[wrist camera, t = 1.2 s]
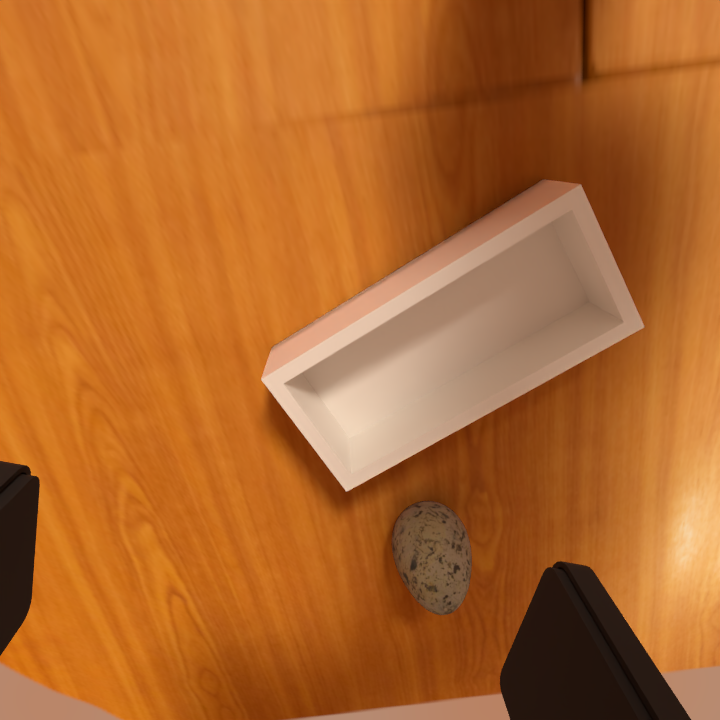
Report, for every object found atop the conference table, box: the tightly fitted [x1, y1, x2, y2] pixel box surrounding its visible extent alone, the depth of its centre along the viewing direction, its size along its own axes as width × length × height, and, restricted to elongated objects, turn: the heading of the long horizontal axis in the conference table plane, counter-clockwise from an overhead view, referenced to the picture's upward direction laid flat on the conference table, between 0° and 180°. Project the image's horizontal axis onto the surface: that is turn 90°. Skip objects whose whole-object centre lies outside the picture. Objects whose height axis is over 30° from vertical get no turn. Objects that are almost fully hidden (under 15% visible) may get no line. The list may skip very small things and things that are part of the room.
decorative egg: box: [392, 501, 472, 615], centre depth 41 cm, size 6×6×10 cm
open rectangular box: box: [261, 179, 645, 492], centre depth 37 cm, size 22×10×6 cm, turn 122°
